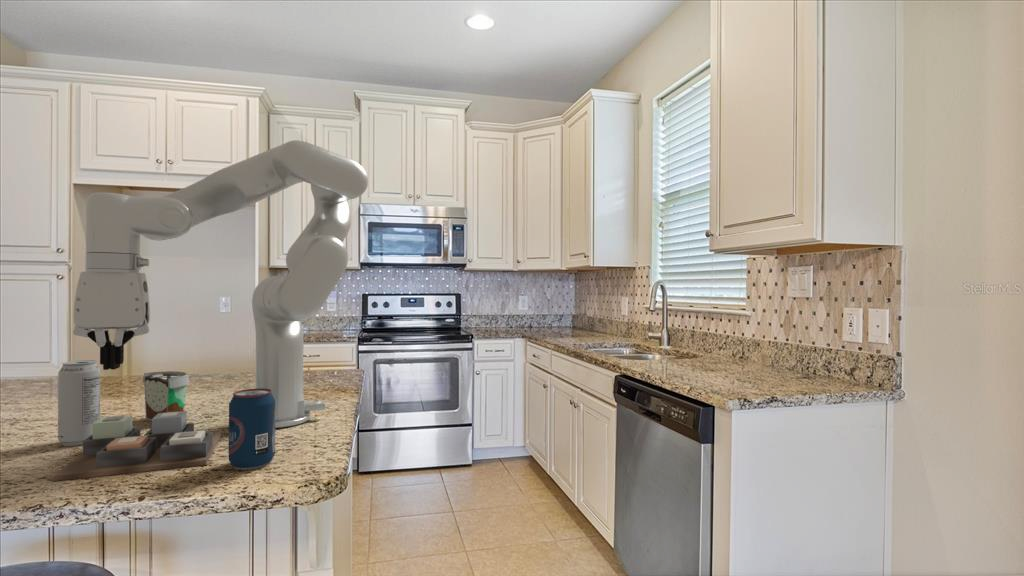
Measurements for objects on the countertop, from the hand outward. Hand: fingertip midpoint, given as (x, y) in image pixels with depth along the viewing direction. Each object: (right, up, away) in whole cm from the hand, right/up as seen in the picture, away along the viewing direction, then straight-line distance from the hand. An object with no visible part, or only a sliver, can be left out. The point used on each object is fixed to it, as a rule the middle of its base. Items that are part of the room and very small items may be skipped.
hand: (111, 368), depth 90 cm
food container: (-4, -15, +22) cm, 27 cm away
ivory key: (+15, -14, -2) cm, 21 cm away
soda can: (+27, -15, -5) cm, 32 cm away
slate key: (+8, -12, +3) cm, 15 cm away
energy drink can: (-11, -15, +6) cm, 19 cm away
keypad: (+7, -15, -1) cm, 17 cm away
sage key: (0, -12, 0) cm, 12 cm away
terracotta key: (+7, -14, -6) cm, 17 cm away
